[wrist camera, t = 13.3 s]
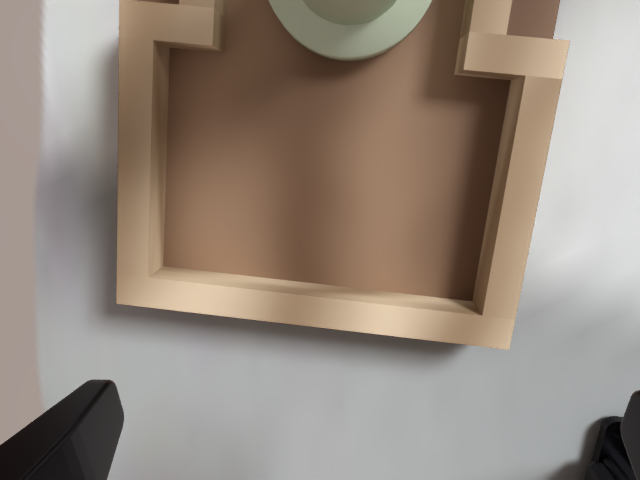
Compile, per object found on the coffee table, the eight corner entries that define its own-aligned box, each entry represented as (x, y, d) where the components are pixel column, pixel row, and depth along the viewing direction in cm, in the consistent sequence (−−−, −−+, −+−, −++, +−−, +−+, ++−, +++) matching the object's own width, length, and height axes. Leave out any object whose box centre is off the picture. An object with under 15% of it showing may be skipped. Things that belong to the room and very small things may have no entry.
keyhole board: (582, -161, 17) (618, -207, 15) (491, 325, 21) (509, 349, 19) (152, -194, 18) (121, -243, 15) (141, 284, 22) (116, 303, 19)
